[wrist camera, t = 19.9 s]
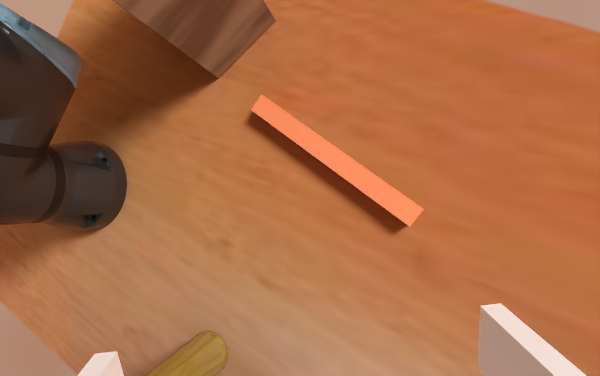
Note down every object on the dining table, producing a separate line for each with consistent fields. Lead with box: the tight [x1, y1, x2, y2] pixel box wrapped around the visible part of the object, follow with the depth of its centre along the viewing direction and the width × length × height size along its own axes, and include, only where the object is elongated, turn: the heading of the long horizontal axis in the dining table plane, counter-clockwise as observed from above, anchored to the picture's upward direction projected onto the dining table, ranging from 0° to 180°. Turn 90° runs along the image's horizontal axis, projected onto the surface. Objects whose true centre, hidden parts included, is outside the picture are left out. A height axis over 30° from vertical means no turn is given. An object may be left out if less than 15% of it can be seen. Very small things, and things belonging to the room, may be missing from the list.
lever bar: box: [251, 94, 424, 227], centre depth 40 cm, size 26×3×3 cm, turn 53°
